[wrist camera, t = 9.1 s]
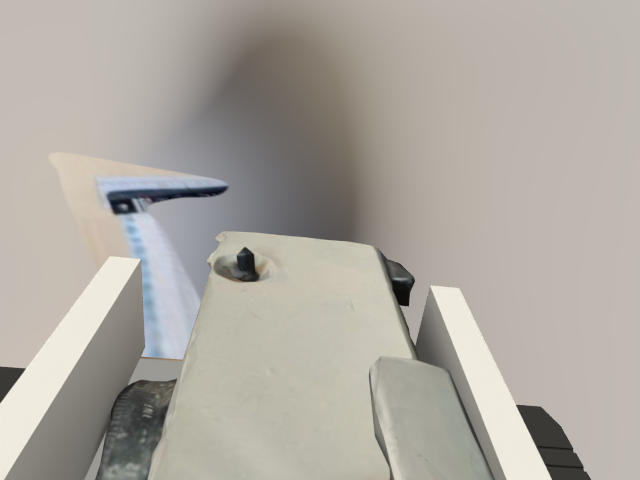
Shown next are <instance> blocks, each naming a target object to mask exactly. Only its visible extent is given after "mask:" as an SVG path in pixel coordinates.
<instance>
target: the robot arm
mask: <svg viewBox="0 0 640 480" xmlns="http://www.w3.org/2000/svg"><path fill="white" fill-rule="evenodd" d="M415 347H416V350H417V354H418V357H419V360H420V361H421V362H424V363H427V364H430V365H434V366H437V367H440V368H443V369H446V370H449V371H450V374H451V376H452V378H453V381H454V383H455V386H456V388H457V390H458V393H459V395H460V398H461V400H462V402H463V405H464V407H465V409H466V412H467V414H468V417H469V419H470V421H471V424H472V426H473V428H474V431H475V433H476V436H477V438H478V440H479V443H480V445H481V447H482V450H483V452H484V455H485V457H486V459H487V462H488V464H489V466H490V469H491V471H492V473H493V476H494V478H495V480H591V479H590V477H589V475H588V474H587V472H584V469H583V468H584V467H583V465H582V463H581V461H580V460H579V458H578V456H577V454H576V453H574V452H573V447H572V445H571V444H570V442H569V440H568V438H567V436H566V435H565V433H564V431H563V429H562V428H561V426H560V425H559V424H558V423H557V422H556V421H555V420H554V419H553V418H552V417H550V415H549V414H547V413H546V412H545V411H544V410H543V409H542V408H541V407H537V406H525V405H515V403H514V400H513V398H512V396H511V394H510V392H509V390H508V388H507V386H506V384H505V382H504V380H503V378H502V376H501V374H500V372H499V370H498V367H497V365H496V363H495V362H494V359H493V357H492V355H491V353H490V351H489V349H488V347H487V345H486V343H485V341H484V339H483V337H482V335H481V333H480V330H479V328H478V326H477V324H476V322H475V320H474V318H473V316H472V314H471V312H470V310H469V308H468V306H467V304H466V302H465V300H464V297H463V295H462V293H461V291H460V290H459V288H451V287H440V286H430V288H429V292H428V296H427V301H426V305H425V309H424V313H423V317H422V321H421V325H420V329H419V334H418V338H417V342H416V346H415ZM144 348H145V338H144V316H143V293H142V271H141V259H133V258H122V257H112V256H110V257H109V258H108V259H107V261H106V262H105V263H104V265H103V266H102V267H101V269H100V270H99V271H98V273H97V274H96V275H95V277H94V278H93V280H92V281H91V282H90V284H89V285H88V286H87V288H86V289H85V290H84V292H83V293H82V294H81V296H80V297H79V298H78V300H77V301H76V302H75V304H74V305H73V306H72V308H71V309H70V311H69V312H68V313H67V315H66V316H65V317H64V319H63V320H62V321H61V323H60V324H59V325H58V327H57V328H56V329H55V331H54V332H53V333H52V335H51V336H50V337H49V339H48V340H47V341H46V343H45V344H44V346H43V347H42V348H41V350H40V351H39V352H38V354H37V355H36V356H35V358H34V359H33V360H32V362H31V363H30V364H29V366H28V367H27V368H26V369H24V368H11V367H0V480H84V479H85V477H86V475H87V472H88V470H89V468H90V466H91V464H92V461H93V459H94V457H95V455H96V453H97V451H98V448H99V446H100V444H101V442H102V440H103V438H104V435H105V433H106V431H107V429H108V427H109V424H110V422H111V410H112V407H113V405H114V402H115V400H116V398H117V396H118V395H119V393H120V392H121V391H122V390H123V389H124V388H125V387H127V385H128V383H129V381H130V379H131V377H132V374H133V372H134V370H135V368H136V366H137V364H138V361H139V359H140V357H141V355H142V353H143V350H144Z"/></svg>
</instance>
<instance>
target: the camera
mask: <svg viewBox="0 0 640 480" xmlns="http://www.w3.org/2000/svg"><path fill="white" fill-rule="evenodd" d="M216 240H217V241H218V242H219V246H218V248H217V250H216V251H215V252H214V253H212V254H211V256H210V257H209V259H208V260H207V263H208V264H209V266H210V268H211V271H210V275H209V278H208V281H207V284H206V287H205V290H204V294H203V298H202V302H201V305H200V308H199V311H198V315H197V318H196V321H195V325H194V328H193V331H192V334H191V337H190V340H189V343H188V346H187V349H186V352H185V355H184V358H183V362H182V365H181V368H180V372H179V375H178V378H177V379H174V380H170V381H148V380H138V381H136V382H134V383H131V384H130V385H128V386H127V387H125V388H124V389H123V390H122V391H121V392H120V393H119V395H118V396H117V398H116V400H115V402H114V405H113V407H112V410H111V422H110V424H109V427H108V429H107V431H106V436H105V441H104V446H103V452H102V457H101V462H100V466H99V469H98V472H97V475H96V478H95V480H495V478H494V476H493V473H492V471H491V469H490V466H489V464H488V462H487V459H486V457H485V455H484V452H483V450H482V447H481V445H480V443H479V440H478V438H477V436H476V433H475V431H474V428H473V426H472V424H471V421H470V419H469V417H468V414H467V412H466V409H465V407H464V405H463V402H462V400H461V398H460V395H459V393H458V390H457V388H456V386H455V383H454V381H453V378H452V376H451V374H450V371H449V370H446V369H443V368H440V367H437V366H434V365H430V364H427V363H424V362H421V361H420V360H419V357H418V354H417V350H416V347H415V345H414V343H413V341H412V339H411V337H410V333H409V328H408V325H407V323H406V320H405V317H404V315H403V313H402V310H401V308H400V306H399V305H402V306H409V297H410V291H411V289H412V287H413V284H414V282H415V280H414V277H413V276H412V275H411V274H410V273H409V272H408V271H407V270H406V269H405V268H404V267H403V266H402V265H401V264H399V263H397V262H394V261H391V260H388V259H387V258H386V257H385V256H384V255H383V254H382V253H381V251H380V250H379V249H378V248H375V247H373V246H370V245H363V244H357V243H352V242H345V241H329V240H321V239H313V238H304V237H293V236H281V235H272V234H263V233H250V232H229V231H222V232H221V233H220V234H219V235H218V236H217V237H216Z"/></svg>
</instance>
